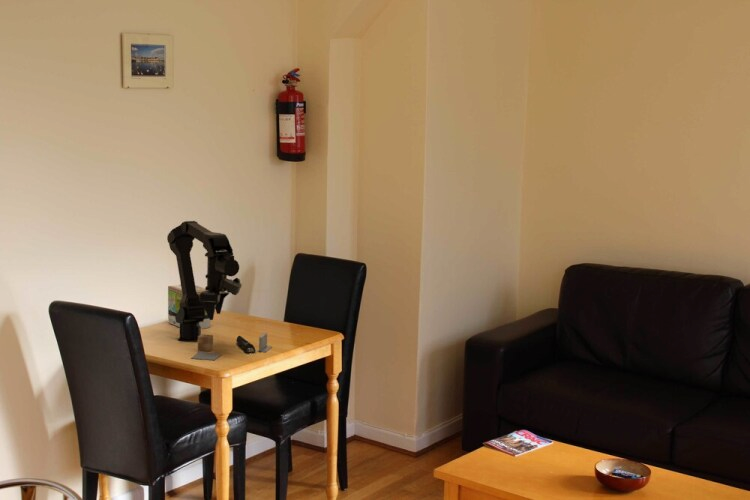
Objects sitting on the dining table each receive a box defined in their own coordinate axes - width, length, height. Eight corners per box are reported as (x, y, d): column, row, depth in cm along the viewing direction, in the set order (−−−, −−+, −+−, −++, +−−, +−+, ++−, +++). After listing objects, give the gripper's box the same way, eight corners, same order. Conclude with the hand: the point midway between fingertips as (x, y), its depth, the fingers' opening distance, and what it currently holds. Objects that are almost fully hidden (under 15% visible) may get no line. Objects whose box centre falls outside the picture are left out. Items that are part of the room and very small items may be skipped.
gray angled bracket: (257, 351, 316) (258, 337, 315) (263, 346, 323) (263, 332, 322) (266, 352, 315) (266, 338, 315) (271, 347, 322) (271, 333, 321)
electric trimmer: (244, 343, 328) (244, 334, 328) (256, 353, 314) (256, 344, 314) (234, 344, 327) (234, 335, 326) (245, 354, 313) (245, 345, 312)
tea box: (166, 323, 352) (167, 285, 350) (190, 320, 359) (190, 282, 357) (187, 331, 341) (188, 291, 339) (211, 327, 348) (211, 289, 346)
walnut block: (197, 351, 314) (197, 336, 313) (201, 348, 318) (201, 334, 317) (209, 352, 313) (209, 337, 313) (212, 349, 317) (213, 334, 316)
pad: (190, 358, 304) (190, 357, 304) (198, 352, 312) (198, 351, 312) (214, 360, 303) (214, 359, 303) (221, 354, 311) (221, 353, 311)
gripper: (232, 277, 302) (231, 324, 305) (245, 268, 321) (244, 312, 323) (199, 275, 303) (198, 322, 306) (214, 266, 322) (213, 310, 324)
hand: (215, 316), depth 315 cm, fingers open, 9 cm apart
